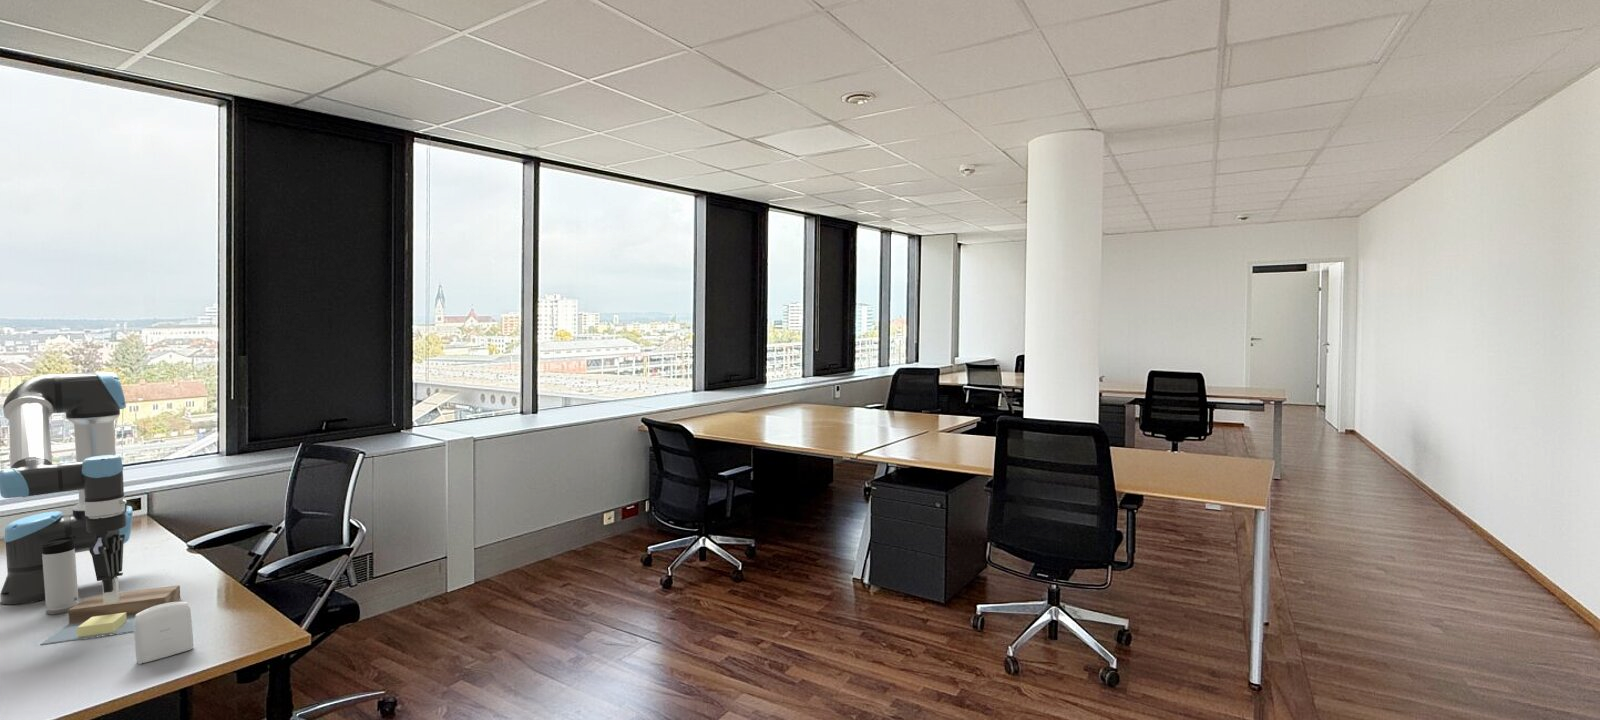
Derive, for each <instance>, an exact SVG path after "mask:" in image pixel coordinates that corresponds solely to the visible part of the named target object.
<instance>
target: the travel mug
mask: <svg viewBox="0 0 1600 720" xmlns="http://www.w3.org/2000/svg"><path fill="white" fill-rule="evenodd" d="M74 538H75V536H68V537H63V538H58V539H54V540H51V541H48V542H46V543H44V544H42V550H43V551H42V555H43V557H42V559H43V573H44V587H45V600H44V601H45V607H46V608H45V612H46V614H48V615H59V614H64V612H65V613H68V610H69V609H70V608H72V607H73V606H75V605H76V604H78V603H79V589H78V575H77V561H76V559H77V558H76V553H75V551H74V550H75V548H74Z"/></svg>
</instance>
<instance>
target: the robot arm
mask: <svg viewBox="0 0 1600 720" xmlns="http://www.w3.org/2000/svg"><path fill="white" fill-rule="evenodd" d="M126 407H127V404H126V399H125V393H124V390H123V387H122V383H121V379H120V377H119V375H118V374H117V373H115V372H112V371H88V372H73V373H68V372H67V373H47V374H40V375H37V376H33V377H31V378H29V379H27V380H25V381H23V382H22V383H20V384H18V385H17V386H16V387H15V388H13V389H12V391H10V392H9V394H8V395H7V396H6V398H5V400H4V403H3V409H2V410H3V415H4V418H6V419H7V420H8V423H9V424H8V425H9V426H8V427H9V458H10V459H9V462H10V465H9V466H10V468H8V469H2V470H0V496H1V497H2V498H4V499H17V498H28V497H35V496H36V497H37V496H42V495H48V494H55V493H65V492H71V491H72V492H73V491H78V503H77V504H75V505H74V506H73V507H72V508H71V509H72V514H66V515H64V513H63V512H62V511H60V510H55V511H54V510H53V511H47V512H42V513H41V512H40V513H36V514H32V515H30V516H29V515H28V516H26V517H21V518H18V519H16V520H14V521H11V522H10V523H8V524H7V525H6V526H5V529H4V539H3V542H4V543H5V553H6V554H5V557H6V569H7V570H6V571H7V576H6V577H5V581H4V583H3V585H2V588H1V591H0V603H1V604H3V605H19V604H18V603H22V604H28V602H29V603H34V602H33V601H35V602H39V601H38V600H40V601H44V600H43V599H45V587H44V573H43V559H42V557H43V555H42V551H43V550H42V544H44V543H46V542H48V541H51V540H54V539H58V538H63V537H68V536H75V538H74V548H75V550H74V551H75V554H78V553H83V552H89V553H90V555H91V558H92V559H91V560H92V563H93V568H94V572H95V577H96V581H97V582H101V584H102V585H101V587H102V595H103V603H104V604H111V603H117V602H119V601H120V599H119V593H120V588H119V587H120V586H119V577H121V576H123V575H124V572H122V571H123V561H124V559H123V558H124V545H125V544H126V543H127V542H129V540H130V538H131V531H132V526H133V512H134V511H133V507H132V506H131V505H127V502H128V501H127V500H125V491H124V489H125V486H124V471H123V470H124V466H123V465H124V464H123V462H122V461H123V460H122V456H120V455H118V454H116V440H115V423H114V421H115V420H116V419H117V418H119V416H121V412H120V411H121V410H124V409H125V408H126ZM53 414H65V417H66V418H65V419H66V420H67V421H69V422H71V423H72V424H73V428H74V429H73V430H74V444H75V457H76V458H75V459H76V461H72V462H64V463H55V464H54V463H53V457H52V456H53V455H52V453H53V452H52V441H51V429H50V418H51V416H52V415H53Z"/></svg>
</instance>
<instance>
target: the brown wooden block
mask: <svg viewBox="0 0 1600 720" xmlns="http://www.w3.org/2000/svg"><path fill="white" fill-rule="evenodd" d="M119 599H120V601H119V602H117V603H111V604H104V603H103V594H98V595H92V596H91V595H90V596H87V597H85V598H83V600H81V601H80V602H79V601H78V602H79V603H78V604H76V605H75V606H73V607H72V608H70V609H69V610H68V612H67V614H68V624H71V623H78V622H85V621H87V620H88V619H89V618H91V617H95V616H103V615H110V614H118V613H125V612H126V616H130V615H136V614H137V613H139V612H141V611H143V610H145V609H148V608H150V607H153V606H156V605H160V604H164V603H170V602H179V601H180V600H181V586H180V585H179V584H177V585H170V586H169V585H168V586H163V587H155V588H148V589H146V588H145V589H138V590H132V591H123V592H119ZM179 599H180V600H179ZM178 600H179V601H178Z"/></svg>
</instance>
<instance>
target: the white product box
mask: <svg viewBox="0 0 1600 720" xmlns="http://www.w3.org/2000/svg"><path fill="white" fill-rule="evenodd" d="M133 634H134V645H135V646H134V647H135V648H134V649H135V658H136V663H137V664H138V665H143V664H145V663H148V662H149V663H150V662H152V661H156V660H160V659H164V658H167V657H171V656H173V655H177V654H180V653H183V652H187V651H191V650H193V649H194V635H193V621H192V609H191V607H190V606H189V603H188V602H187V601H177V602H170V603H164V604H160V605H156V606H153V607H150V608H148V609H145V610H143V611H141V612H139V613H137V614H136V615H135V620H134V632H133ZM142 663H143V664H142Z"/></svg>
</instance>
